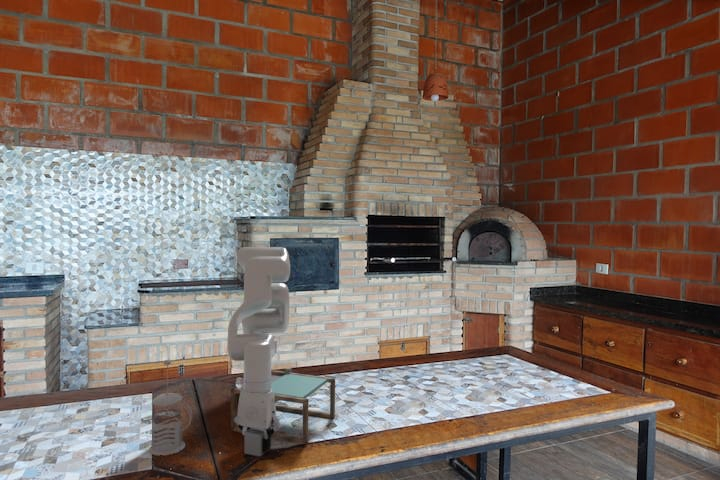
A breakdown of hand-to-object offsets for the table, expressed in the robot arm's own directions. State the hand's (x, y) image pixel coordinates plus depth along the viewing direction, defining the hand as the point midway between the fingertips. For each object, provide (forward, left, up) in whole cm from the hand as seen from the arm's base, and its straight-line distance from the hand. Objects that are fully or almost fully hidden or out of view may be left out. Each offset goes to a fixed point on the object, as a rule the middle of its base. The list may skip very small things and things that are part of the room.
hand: (257, 448), depth 134 cm
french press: (-24, -7, -1) cm, 25 cm away
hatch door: (-2, +19, +4) cm, 20 cm away
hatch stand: (-2, +19, -1) cm, 19 cm away
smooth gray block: (0, 0, -1) cm, 1 cm away
